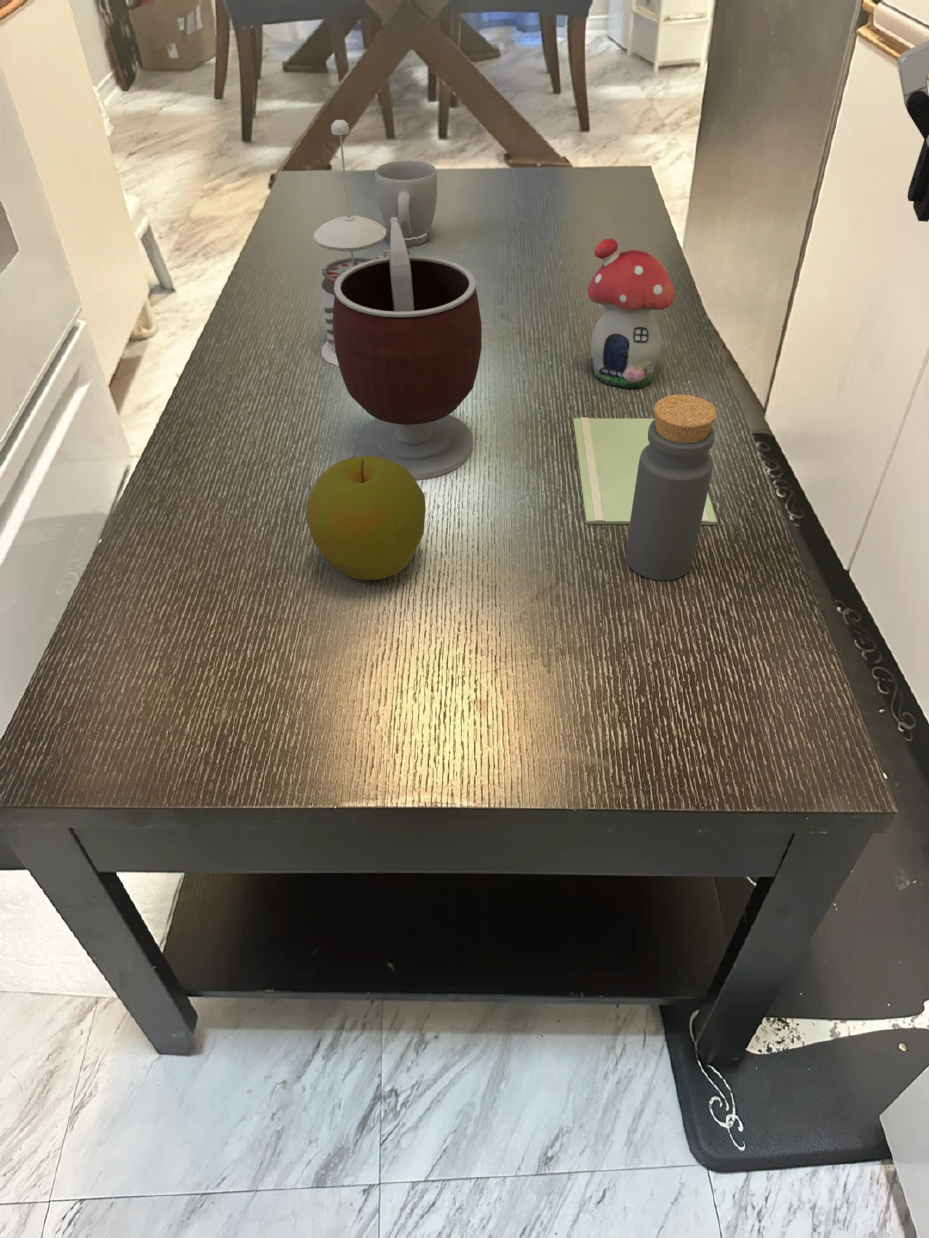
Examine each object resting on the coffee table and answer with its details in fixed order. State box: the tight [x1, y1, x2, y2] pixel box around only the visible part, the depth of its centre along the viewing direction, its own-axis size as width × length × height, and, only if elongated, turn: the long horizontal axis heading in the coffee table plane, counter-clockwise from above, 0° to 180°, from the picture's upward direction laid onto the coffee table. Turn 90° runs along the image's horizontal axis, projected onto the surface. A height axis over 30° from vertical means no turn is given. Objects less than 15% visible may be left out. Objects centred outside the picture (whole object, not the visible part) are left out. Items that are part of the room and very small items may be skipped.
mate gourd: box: [333, 217, 483, 481], centre depth 85 cm, size 16×14×20 cm
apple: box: [305, 456, 427, 581], centre depth 74 cm, size 10×10×11 cm
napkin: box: [572, 416, 718, 526], centre depth 88 cm, size 18×12×1 cm, turn 179°
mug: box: [374, 159, 438, 247], centre depth 128 cm, size 12×9×10 cm
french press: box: [313, 119, 390, 367], centre depth 98 cm, size 10×12×25 cm
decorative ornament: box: [587, 238, 676, 390], centre depth 97 cm, size 9×7×15 cm
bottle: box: [625, 394, 718, 581], centre depth 73 cm, size 6×6×15 cm
